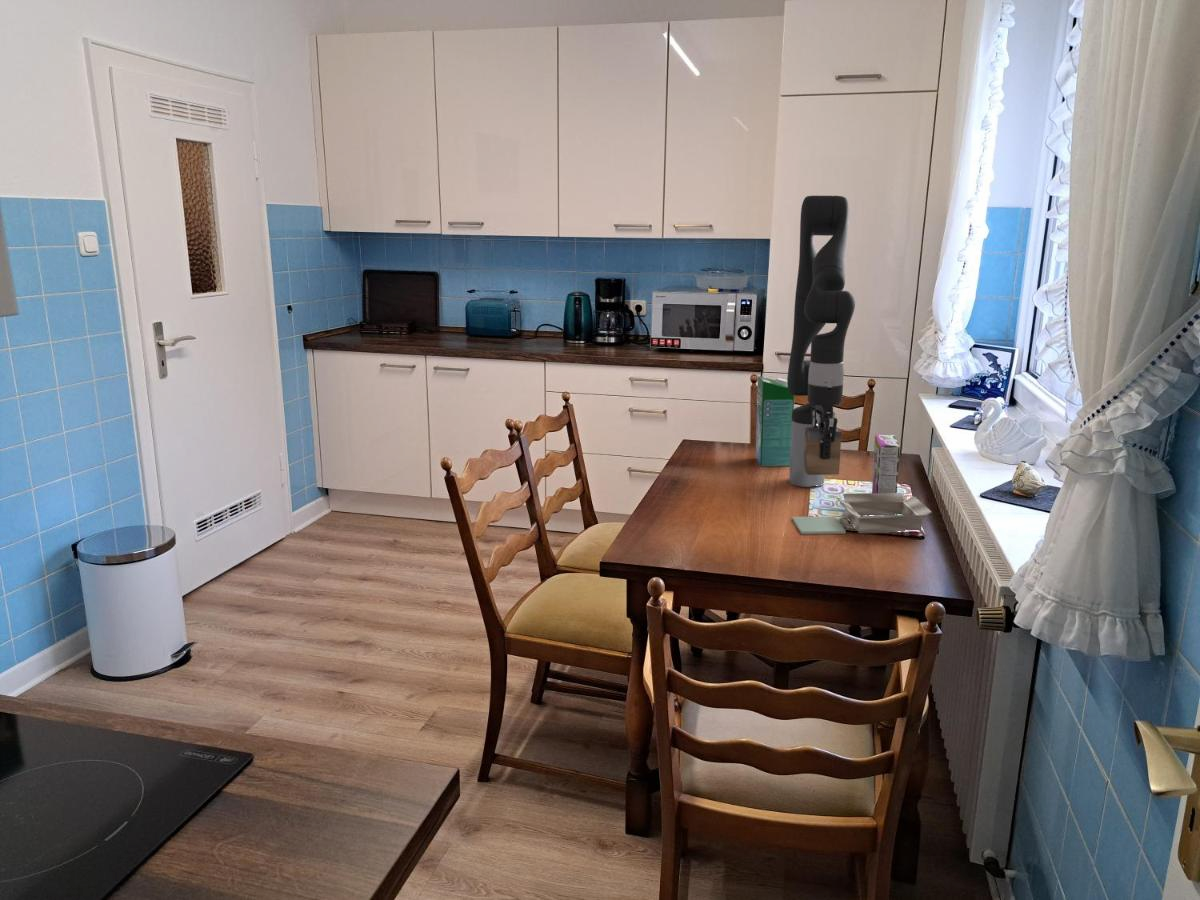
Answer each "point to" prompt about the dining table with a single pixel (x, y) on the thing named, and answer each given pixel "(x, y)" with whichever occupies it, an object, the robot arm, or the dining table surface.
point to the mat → (818, 525)
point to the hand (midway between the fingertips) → (821, 455)
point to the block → (812, 454)
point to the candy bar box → (885, 464)
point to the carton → (883, 512)
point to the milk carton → (773, 422)
